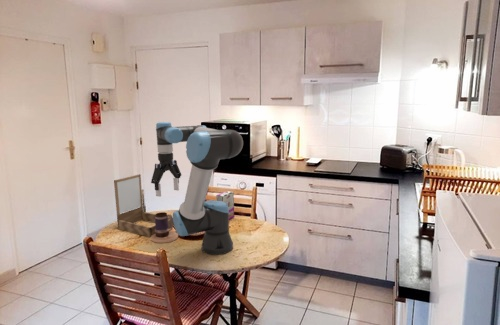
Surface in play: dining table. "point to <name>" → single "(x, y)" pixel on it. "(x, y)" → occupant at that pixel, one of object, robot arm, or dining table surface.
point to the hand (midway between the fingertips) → (167, 193)
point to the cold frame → (137, 215)
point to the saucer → (165, 238)
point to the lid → (128, 193)
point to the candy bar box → (227, 201)
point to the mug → (162, 224)
